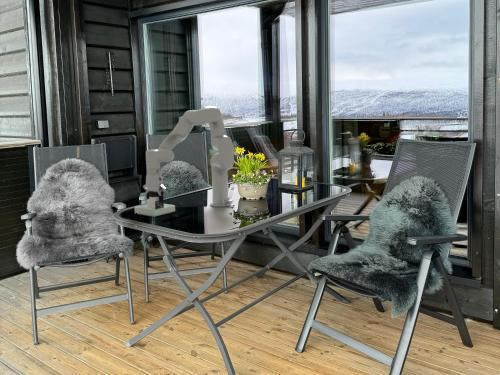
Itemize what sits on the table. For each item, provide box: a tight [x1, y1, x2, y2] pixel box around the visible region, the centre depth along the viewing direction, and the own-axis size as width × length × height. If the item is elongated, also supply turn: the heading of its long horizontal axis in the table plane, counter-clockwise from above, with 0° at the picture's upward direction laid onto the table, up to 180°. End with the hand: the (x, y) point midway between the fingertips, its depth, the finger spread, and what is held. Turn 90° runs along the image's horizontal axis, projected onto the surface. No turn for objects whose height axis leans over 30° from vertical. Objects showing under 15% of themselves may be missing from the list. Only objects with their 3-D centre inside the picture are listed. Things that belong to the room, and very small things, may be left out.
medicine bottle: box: [145, 191, 165, 210], centre depth 294 cm, size 7×7×12 cm
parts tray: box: [134, 203, 176, 217], centre depth 294 cm, size 16×16×4 cm
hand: (155, 201), depth 294 cm, fingers open, 9 cm apart
